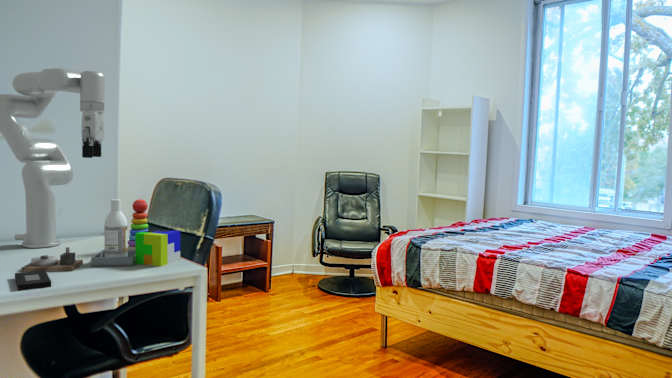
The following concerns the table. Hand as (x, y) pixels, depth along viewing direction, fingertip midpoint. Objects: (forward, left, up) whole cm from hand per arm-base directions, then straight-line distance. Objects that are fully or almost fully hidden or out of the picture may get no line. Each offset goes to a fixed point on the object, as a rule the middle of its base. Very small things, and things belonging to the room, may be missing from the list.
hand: (92, 157), depth 176 cm
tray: (+12, -15, -34) cm, 39 cm away
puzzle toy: (+25, -15, -34) cm, 45 cm away
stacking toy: (+15, +4, -34) cm, 37 cm away
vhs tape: (-4, -40, -35) cm, 53 cm away
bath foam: (+12, -15, -33) cm, 38 cm away
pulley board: (-5, -22, -34) cm, 41 cm away
